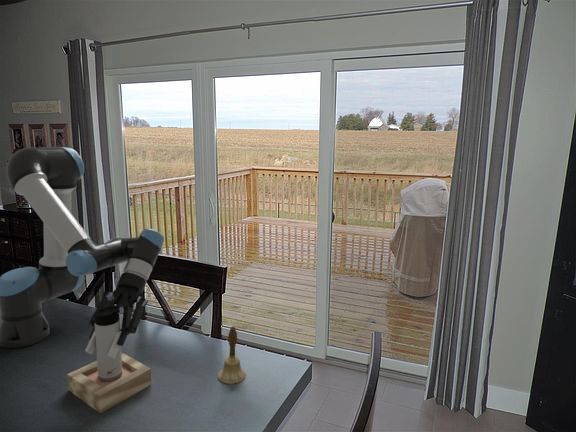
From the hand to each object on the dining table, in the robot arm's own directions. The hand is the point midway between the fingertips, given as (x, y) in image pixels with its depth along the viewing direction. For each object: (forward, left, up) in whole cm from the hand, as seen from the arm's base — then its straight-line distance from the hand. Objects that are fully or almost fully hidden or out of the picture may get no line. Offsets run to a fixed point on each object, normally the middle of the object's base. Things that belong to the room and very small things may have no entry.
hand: (99, 354), depth 108 cm
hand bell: (+22, +28, -12) cm, 38 cm away
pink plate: (-1, +3, -10) cm, 11 cm away
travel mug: (-1, +3, -9) cm, 9 cm away
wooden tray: (-1, +3, -12) cm, 13 cm away
